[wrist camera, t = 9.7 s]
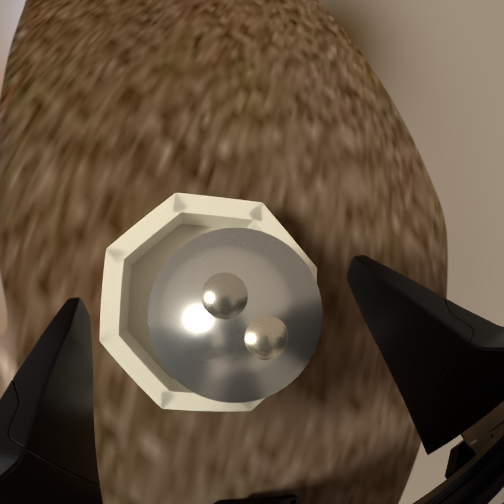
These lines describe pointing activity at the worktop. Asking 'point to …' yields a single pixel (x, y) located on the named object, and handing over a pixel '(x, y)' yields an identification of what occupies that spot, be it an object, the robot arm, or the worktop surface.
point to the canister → (235, 315)
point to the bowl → (145, 273)
